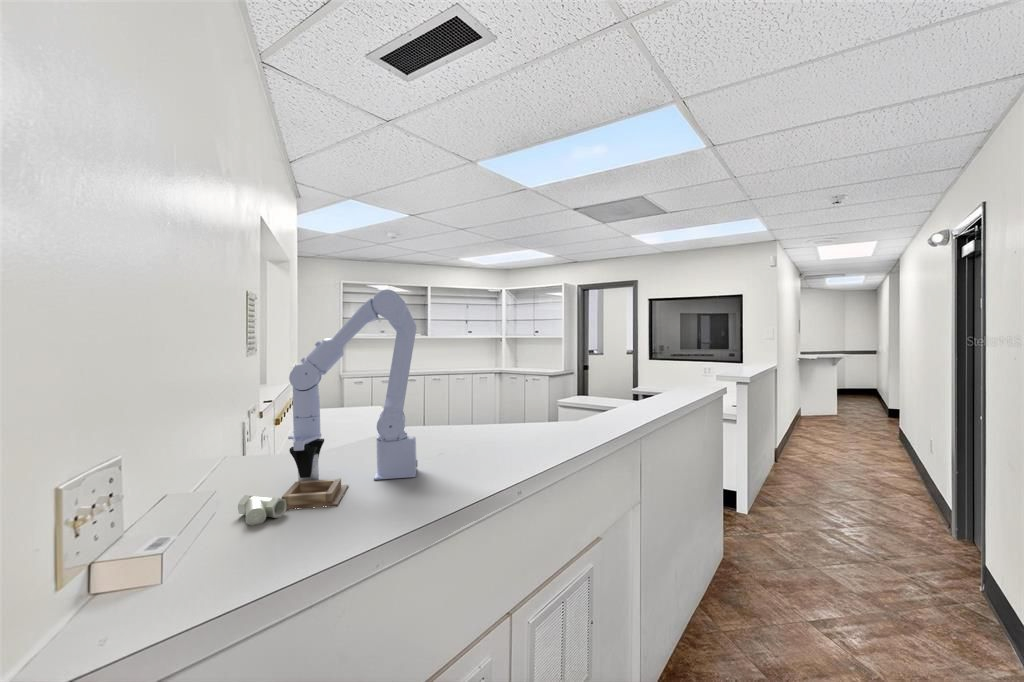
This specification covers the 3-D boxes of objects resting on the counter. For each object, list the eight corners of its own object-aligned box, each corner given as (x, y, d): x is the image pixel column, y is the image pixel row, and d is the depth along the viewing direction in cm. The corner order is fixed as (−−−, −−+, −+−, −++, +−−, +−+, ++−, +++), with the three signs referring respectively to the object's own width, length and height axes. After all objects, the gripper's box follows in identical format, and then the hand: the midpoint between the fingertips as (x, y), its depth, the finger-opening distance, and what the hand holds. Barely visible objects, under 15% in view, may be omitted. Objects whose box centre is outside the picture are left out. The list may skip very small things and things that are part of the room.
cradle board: (348, 489, 105) (348, 476, 105) (337, 509, 93) (337, 495, 93) (291, 492, 103) (291, 480, 103) (272, 513, 91) (272, 499, 91)
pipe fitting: (259, 531, 83) (287, 514, 90) (257, 510, 83) (285, 494, 89) (223, 527, 85) (253, 510, 92) (221, 506, 85) (251, 491, 92)
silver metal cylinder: (320, 477, 112) (320, 452, 112) (316, 483, 107) (315, 457, 107) (301, 478, 111) (300, 453, 111) (295, 484, 107) (295, 458, 107)
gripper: (297, 411, 115) (299, 466, 116) (277, 422, 101) (279, 485, 101) (327, 410, 117) (329, 464, 117) (312, 421, 102) (314, 482, 103)
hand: (308, 474), depth 109 cm, fingers closed on silver metal cylinder, 4 cm apart
